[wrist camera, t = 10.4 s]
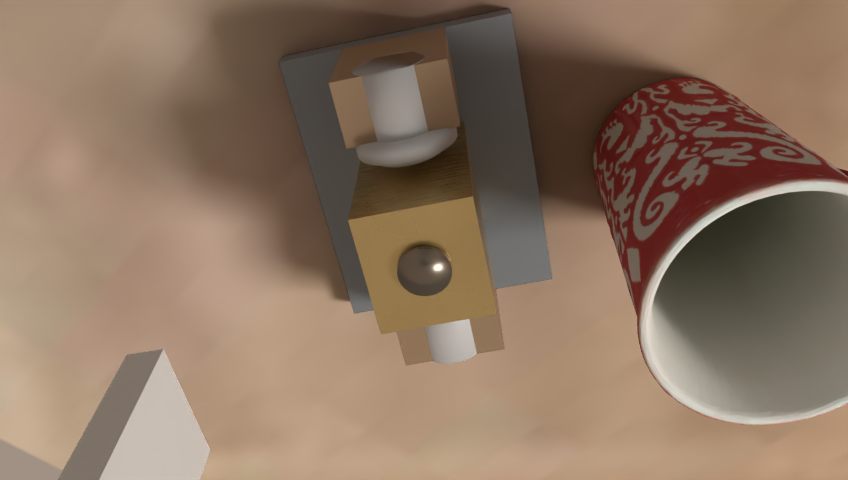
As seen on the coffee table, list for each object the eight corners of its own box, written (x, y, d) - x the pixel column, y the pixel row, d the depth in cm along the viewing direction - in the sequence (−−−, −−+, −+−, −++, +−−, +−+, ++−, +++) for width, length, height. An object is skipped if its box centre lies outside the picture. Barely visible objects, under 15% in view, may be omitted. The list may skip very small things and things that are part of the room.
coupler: (364, 140, 34) (347, 224, 27) (463, 120, 34) (473, 200, 27) (390, 237, 37) (380, 338, 29) (483, 219, 36) (497, 318, 29)
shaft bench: (282, 56, 34) (249, 106, 28) (509, 8, 33) (527, 49, 26) (355, 302, 40) (342, 389, 33) (549, 268, 39) (572, 352, 32)
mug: (560, 239, 38) (621, 426, 26) (581, 55, 34) (664, 178, 22) (818, 243, 38) (996, 432, 26) (870, 60, 34) (1113, 185, 22)
